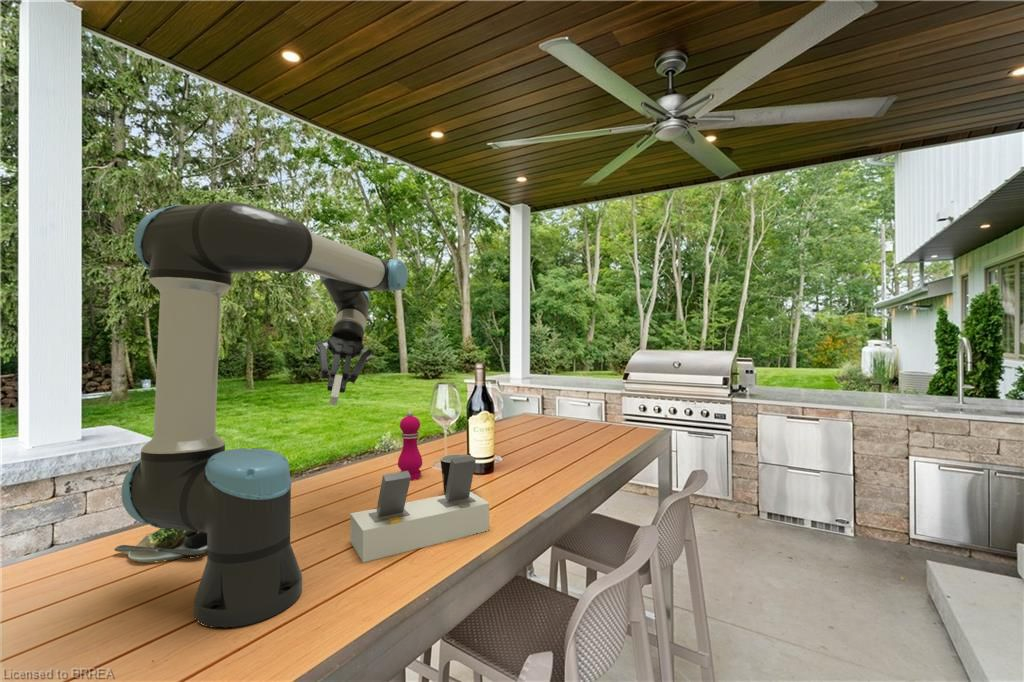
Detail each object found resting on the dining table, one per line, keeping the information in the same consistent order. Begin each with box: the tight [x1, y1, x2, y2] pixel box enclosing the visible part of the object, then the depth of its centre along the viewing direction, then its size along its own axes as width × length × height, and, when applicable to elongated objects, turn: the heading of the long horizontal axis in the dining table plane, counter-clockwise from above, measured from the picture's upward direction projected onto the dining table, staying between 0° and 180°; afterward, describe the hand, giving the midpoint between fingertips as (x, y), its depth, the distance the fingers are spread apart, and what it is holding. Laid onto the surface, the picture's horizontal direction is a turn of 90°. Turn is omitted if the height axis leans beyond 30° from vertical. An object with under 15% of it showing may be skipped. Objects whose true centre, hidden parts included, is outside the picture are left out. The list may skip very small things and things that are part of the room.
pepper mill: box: [397, 410, 423, 481], centre depth 140 cm, size 7×7×20 cm
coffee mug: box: [440, 453, 470, 495], centre depth 125 cm, size 12×9×10 cm
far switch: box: [445, 455, 476, 502], centre depth 101 cm, size 5×2×10 cm, turn 122°
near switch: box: [376, 471, 411, 517], centre depth 92 cm, size 5×2×10 cm, turn 122°
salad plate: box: [114, 528, 207, 563], centre depth 94 cm, size 19×18×5 cm
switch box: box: [350, 490, 490, 563], centre depth 99 cm, size 27×10×6 cm, turn 122°
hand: (333, 400), depth 100 cm, fingers closed
